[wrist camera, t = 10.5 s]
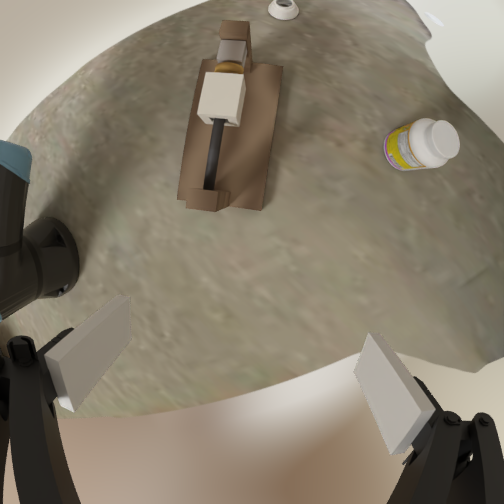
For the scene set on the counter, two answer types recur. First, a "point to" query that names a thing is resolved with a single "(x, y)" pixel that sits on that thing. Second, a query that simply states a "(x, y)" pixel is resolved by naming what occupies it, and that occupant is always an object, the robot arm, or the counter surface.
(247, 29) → the brown stand with rod
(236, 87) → the sleeve
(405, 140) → the supplement bottle
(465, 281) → the counter surface
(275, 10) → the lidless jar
